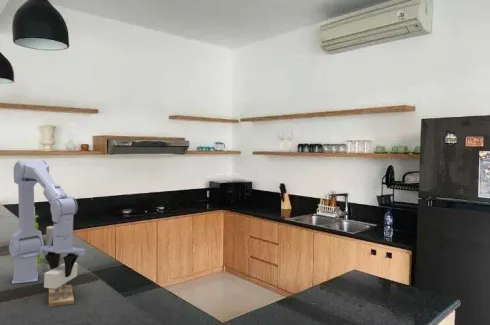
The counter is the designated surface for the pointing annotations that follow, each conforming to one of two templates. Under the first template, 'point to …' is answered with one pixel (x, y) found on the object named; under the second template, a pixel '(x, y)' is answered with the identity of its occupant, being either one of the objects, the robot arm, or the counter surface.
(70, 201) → the robot arm
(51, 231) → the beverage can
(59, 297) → the peg stand
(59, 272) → the white rectangular block
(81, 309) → the counter surface
